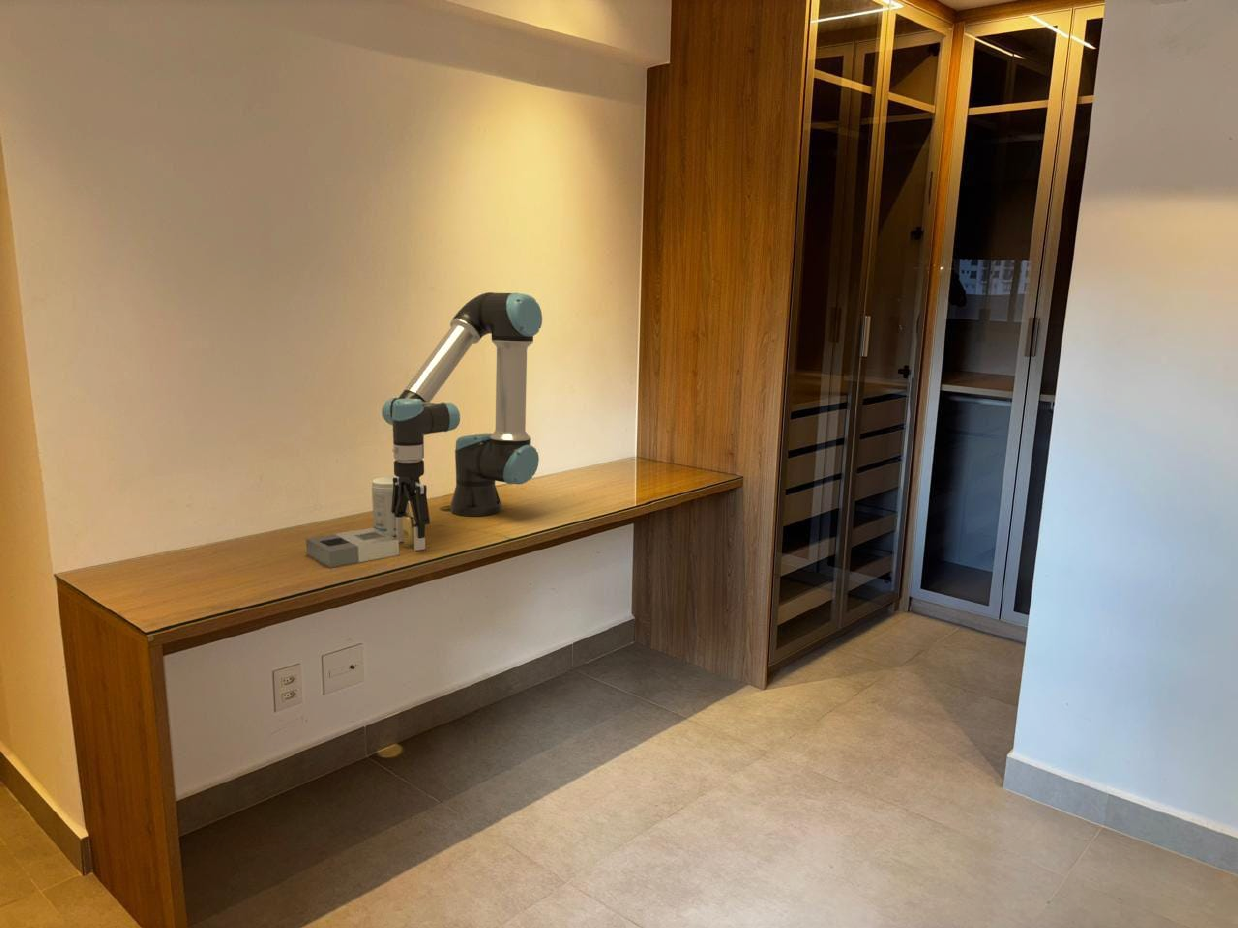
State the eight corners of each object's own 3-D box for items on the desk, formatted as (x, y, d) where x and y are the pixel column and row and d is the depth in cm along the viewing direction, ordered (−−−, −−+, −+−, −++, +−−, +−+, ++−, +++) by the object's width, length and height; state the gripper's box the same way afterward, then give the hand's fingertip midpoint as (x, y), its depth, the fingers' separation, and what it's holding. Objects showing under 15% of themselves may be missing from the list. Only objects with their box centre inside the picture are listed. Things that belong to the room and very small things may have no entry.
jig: (374, 542, 235) (373, 527, 234) (398, 554, 224) (398, 539, 223) (306, 554, 223) (305, 538, 222) (329, 568, 213) (328, 551, 212)
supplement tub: (409, 526, 250) (408, 475, 247) (410, 536, 241) (409, 482, 238) (373, 528, 248) (371, 476, 245) (373, 537, 239) (371, 484, 236)
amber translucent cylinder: (414, 543, 235) (413, 513, 233) (421, 546, 232) (421, 516, 230) (400, 545, 232) (399, 515, 230) (407, 549, 229) (407, 519, 228)
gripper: (376, 455, 233) (378, 538, 237) (415, 468, 217) (417, 557, 221) (402, 452, 238) (404, 533, 242) (443, 465, 222) (444, 552, 226)
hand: (410, 545), depth 232 cm, fingers open, 9 cm apart
